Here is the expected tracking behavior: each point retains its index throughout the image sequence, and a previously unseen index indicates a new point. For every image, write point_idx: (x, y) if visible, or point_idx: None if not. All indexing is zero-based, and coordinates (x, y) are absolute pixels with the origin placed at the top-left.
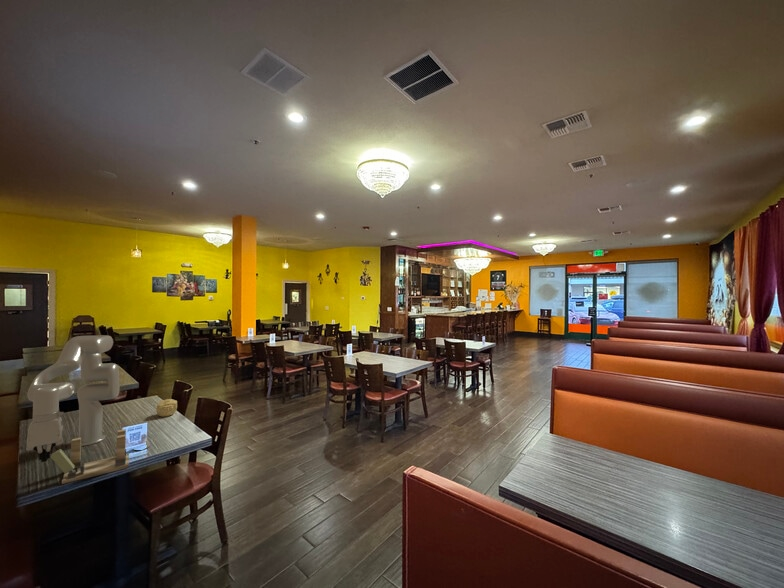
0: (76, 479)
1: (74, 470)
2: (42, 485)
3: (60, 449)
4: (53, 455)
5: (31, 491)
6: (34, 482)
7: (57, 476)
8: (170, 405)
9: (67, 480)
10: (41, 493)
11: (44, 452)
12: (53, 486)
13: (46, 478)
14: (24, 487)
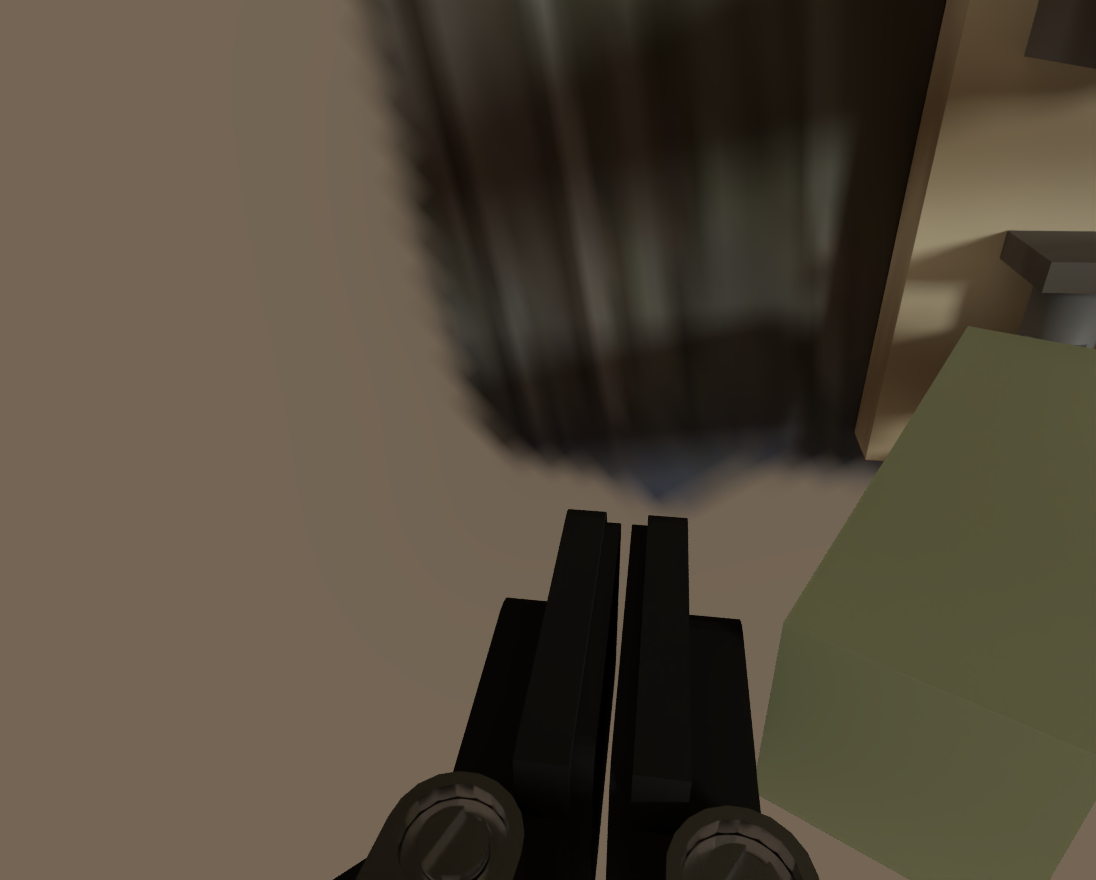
0: None
1: (1093, 336)
2: (630, 300)
3: (1093, 800)
4: (831, 804)
5: (538, 408)
6: (499, 80)
7: (810, 40)
8: None
9: None
10: None
11: (594, 845)
12: (761, 433)
13: (648, 10)
14: (416, 203)
